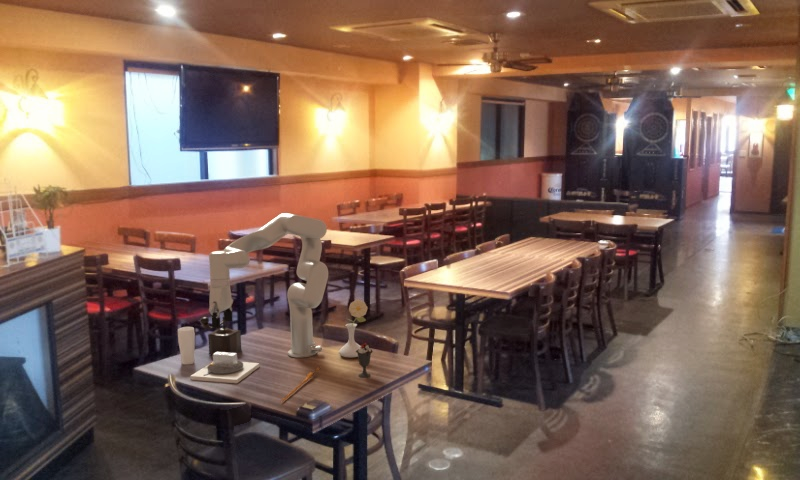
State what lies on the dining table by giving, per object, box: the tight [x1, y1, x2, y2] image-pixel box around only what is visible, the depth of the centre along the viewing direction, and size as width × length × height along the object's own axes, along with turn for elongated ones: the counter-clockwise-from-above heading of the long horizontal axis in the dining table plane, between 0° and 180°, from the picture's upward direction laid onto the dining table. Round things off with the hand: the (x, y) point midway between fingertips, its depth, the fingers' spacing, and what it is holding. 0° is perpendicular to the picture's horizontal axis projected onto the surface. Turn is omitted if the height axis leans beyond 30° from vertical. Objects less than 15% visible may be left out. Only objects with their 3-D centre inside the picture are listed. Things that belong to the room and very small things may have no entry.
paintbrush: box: [280, 366, 321, 404], centre depth 261 cm, size 1×35×3 cm, turn 164°
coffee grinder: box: [199, 316, 242, 356], centre depth 300 cm, size 16×11×18 cm
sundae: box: [356, 339, 373, 378], centre depth 271 cm, size 7×7×15 cm
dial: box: [208, 352, 243, 374], centre depth 277 cm, size 14×14×6 cm
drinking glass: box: [177, 326, 196, 366], centre depth 289 cm, size 7×7×15 cm
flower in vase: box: [338, 299, 369, 359], centre depth 296 cm, size 13×11×25 cm
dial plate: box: [190, 361, 260, 384], centre depth 277 cm, size 20×20×2 cm
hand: (222, 324), depth 274 cm, fingers open, 9 cm apart
